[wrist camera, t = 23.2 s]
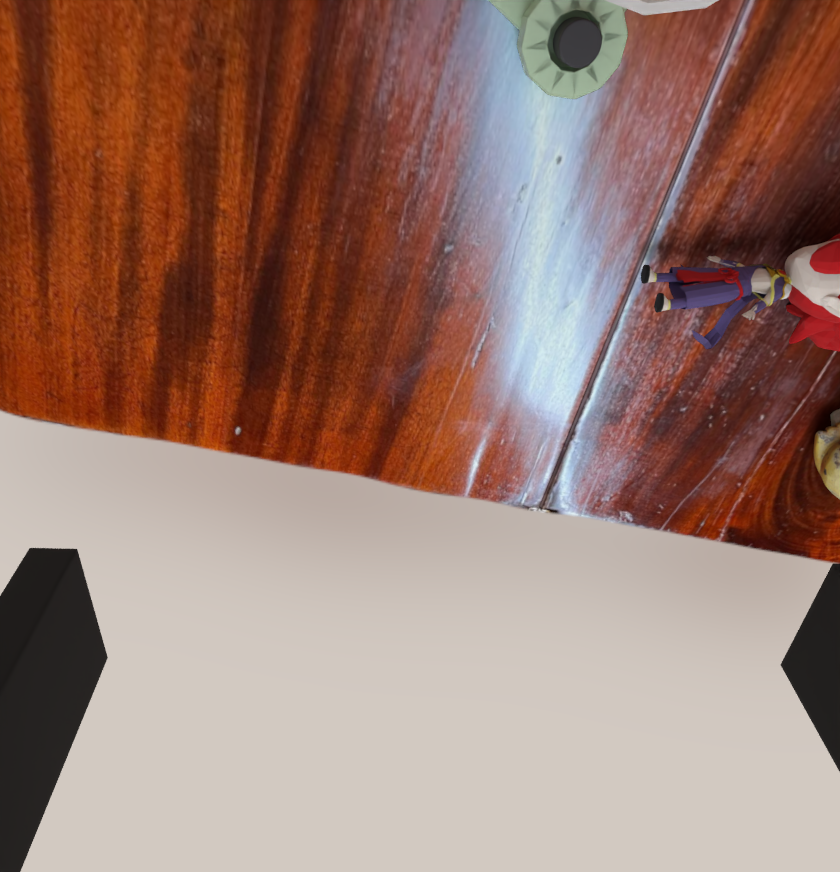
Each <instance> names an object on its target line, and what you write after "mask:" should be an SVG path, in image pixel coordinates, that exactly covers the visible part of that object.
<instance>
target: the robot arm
mask: <svg viewBox="0 0 840 872" xmlns="http://www.w3.org/2000/svg"><path fill="white" fill-rule="evenodd" d="M106 660H107V654H106V651H105V647H104V643H103V640H102V636H101V633H100V629H99V626H98V622H97V618H96V615H95V611H94V608H93V604H92V600H91V597H90V593H89V590H88V587H87V583H86V580H85V576H84V572H83V569H82V565H81V561H80V558H79V554H78V551H77V549H52V548H51V549H49V548H30V549H29V551H28V552H27V554H26V555H25V557H24V558H23V560H22V562H21V563H20V565H19V567H18V568H17V570H16V571H15V573H14V575H13V576H12V578H11V579H10V581H9V583H8V584H7V586H6V588H5V589H4V591H3V592H2V594H1V596H0V872H20V871H21V868H22V866H23V863H24V861H25V859H26V856H27V853H28V851H29V848H30V846H31V844H32V841H33V839H34V837H35V834H36V832H37V829H38V827H39V824H40V822H41V819H42V817H43V814H44V812H45V809H46V807H47V805H48V802H49V800H50V797H51V795H52V792H53V790H54V788H55V785H56V783H57V780H58V778H59V775H60V773H61V770H62V768H63V766H64V763H65V761H66V758H67V756H68V753H69V751H70V748H71V746H72V743H73V741H74V739H75V736H76V734H77V731H78V729H79V726H80V724H81V721H82V719H83V717H84V714H85V712H86V709H87V707H88V704H89V702H90V699H91V697H92V694H93V692H94V690H95V687H96V685H97V682H98V680H99V677H100V675H101V672H102V670H103V667H104V665H105V663H106ZM781 666H782V668H783V670H784V672H785V673H786V675H787V677H788V679H789V681H790V682H791V684H792V686H793V688H794V690H795V692H796V694H797V695H798V697H799V699H800V701H801V703H802V704H803V706H804V708H805V710H806V711H807V713H808V715H809V717H810V719H811V721H812V722H813V724H814V726H815V728H816V730H817V732H818V733H819V735H820V737H821V739H822V741H823V742H824V744H825V746H826V748H827V749H828V751H829V753H830V755H831V757H832V759H833V760H834V762H835V764H836V766H837V768H838V769H839V771H840V564H832V566H831V568H830V570H829V572H828V574H827V576H826V578H825V580H824V582H823V584H822V586H821V588H820V590H819V592H818V593H817V596H816V597H815V599H814V601H813V603H812V605H811V607H810V609H809V611H808V613H807V615H806V617H805V619H804V621H803V623H802V625H801V626H800V629H799V630H798V632H797V634H796V636H795V638H794V640H793V642H792V644H791V646H790V648H789V650H788V652H787V653H786V655H785V658H784V659H783V661H782V663H781Z"/></svg>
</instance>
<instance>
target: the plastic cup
mask: <svg viewBox="0 0 840 872" xmlns="http://www.w3.org/2000/svg"><path fill="white" fill-rule="evenodd" d="M605 1H608V2H610V3H613V4H616V5H618V6H621V7H624V8H626V9H629V10H632V11H634V12H637V13H640V14H642V15H651V14H660V13H668V12H676V11H684V10H692V9H701V8H706V7H708V6H710V5H711V4H713V3H715V2H716V1H718V0H605Z"/></svg>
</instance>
